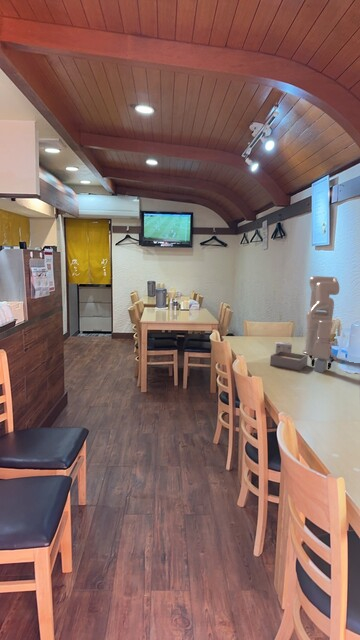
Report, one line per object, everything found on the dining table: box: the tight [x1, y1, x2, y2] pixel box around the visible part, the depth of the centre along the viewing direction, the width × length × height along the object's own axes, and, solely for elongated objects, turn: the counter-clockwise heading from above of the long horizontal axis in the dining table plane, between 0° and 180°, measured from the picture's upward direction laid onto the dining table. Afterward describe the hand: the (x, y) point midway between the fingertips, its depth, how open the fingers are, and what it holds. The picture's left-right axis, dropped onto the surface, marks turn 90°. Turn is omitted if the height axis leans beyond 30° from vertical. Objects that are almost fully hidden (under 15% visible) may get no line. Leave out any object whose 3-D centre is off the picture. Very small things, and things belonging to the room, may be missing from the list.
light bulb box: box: [274, 341, 293, 354], centre depth 258 cm, size 11×7×11 cm, turn 84°
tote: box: [269, 351, 309, 372], centre depth 240 cm, size 17×19×6 cm
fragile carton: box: [313, 358, 328, 374], centre depth 231 cm, size 9×5×7 cm, turn 145°
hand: (320, 367), depth 231 cm, fingers open, 9 cm apart
